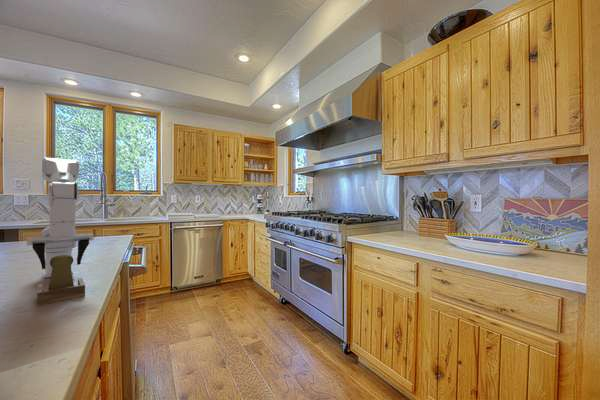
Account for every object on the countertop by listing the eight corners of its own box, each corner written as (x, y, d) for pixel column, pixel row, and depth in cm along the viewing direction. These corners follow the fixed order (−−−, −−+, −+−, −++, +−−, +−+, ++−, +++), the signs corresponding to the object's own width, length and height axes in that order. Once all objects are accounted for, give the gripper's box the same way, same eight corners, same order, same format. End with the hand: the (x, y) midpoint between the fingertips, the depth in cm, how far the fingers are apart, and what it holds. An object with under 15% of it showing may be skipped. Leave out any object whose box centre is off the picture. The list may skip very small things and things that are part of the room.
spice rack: (37, 295, 75) (38, 284, 75) (81, 287, 82) (81, 277, 82) (36, 305, 68) (37, 293, 68) (84, 296, 75) (85, 285, 75)
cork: (55, 296, 72) (56, 258, 72) (42, 293, 74) (42, 256, 74) (79, 289, 78) (80, 254, 78) (66, 287, 80) (67, 252, 80)
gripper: (26, 224, 68) (25, 273, 68) (95, 221, 78) (94, 264, 78) (28, 221, 73) (27, 268, 73) (92, 219, 83) (91, 260, 83)
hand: (61, 266), depth 76 cm, fingers open, 7 cm apart
